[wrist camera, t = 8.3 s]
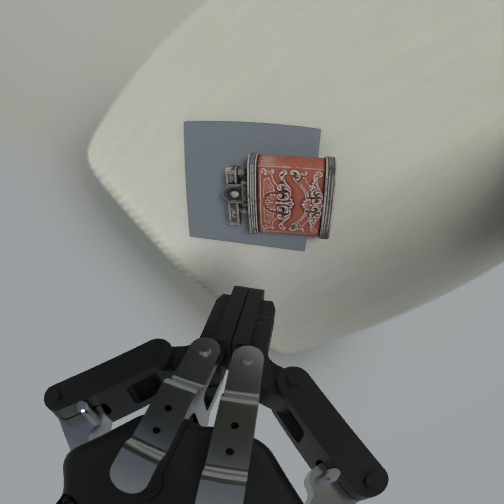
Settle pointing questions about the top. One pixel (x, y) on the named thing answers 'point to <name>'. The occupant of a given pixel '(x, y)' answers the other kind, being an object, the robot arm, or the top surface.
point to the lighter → (282, 194)
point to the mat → (236, 153)
